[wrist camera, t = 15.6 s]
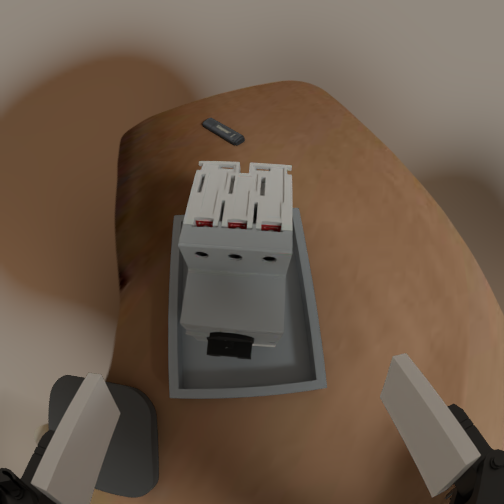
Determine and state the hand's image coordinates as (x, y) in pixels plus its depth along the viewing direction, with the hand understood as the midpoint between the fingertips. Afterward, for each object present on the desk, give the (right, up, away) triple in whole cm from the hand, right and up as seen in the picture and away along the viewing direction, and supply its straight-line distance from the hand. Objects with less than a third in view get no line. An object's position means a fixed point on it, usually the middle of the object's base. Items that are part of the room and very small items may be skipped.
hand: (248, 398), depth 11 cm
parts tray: (-1, 0, +22) cm, 22 cm away
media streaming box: (-18, -16, +14) cm, 28 cm away
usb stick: (-5, +28, +37) cm, 46 cm away
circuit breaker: (-1, 0, +21) cm, 21 cm away
